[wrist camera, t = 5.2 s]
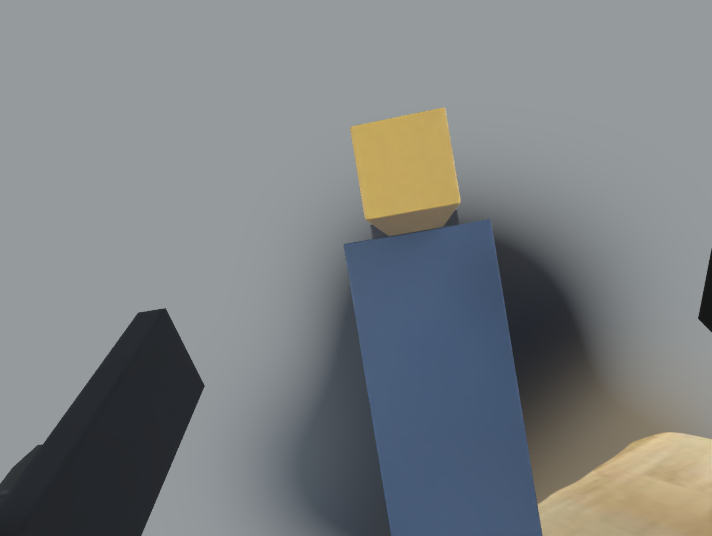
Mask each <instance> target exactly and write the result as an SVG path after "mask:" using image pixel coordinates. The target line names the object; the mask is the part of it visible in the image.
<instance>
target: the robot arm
mask: <svg viewBox="0 0 712 536" xmlns="http://www.w3.org/2000/svg"><path fill="white" fill-rule="evenodd" d="M698 319H699V320H700V321H701V322H702V323H703V324H704V325H705V326H706V327H707V328H708V329H709V330H710V331H711V332H712V250H711V255H710V260H709V265H708V271H707V276H706V281H705V286H704V291H703V297H702V302H701V307H700V312H699V317H698ZM203 388H204V384H203V382H202V380H201V378H200V376H199V374H198V372H197V370H196V368H195V366H194V364H193V362H192V360H191V358H190V356H189V354H188V352H187V350H186V348H185V346H184V344H183V342H182V340H181V338H180V336H179V334H178V332H177V330H176V328H175V326H174V324H173V322H172V320H171V318H170V316H169V314H168V312H167V310H166V309H158V310H152V311H146V312H140V313H138V314H137V315H136V316H135V318H134V319H133V321H132V322H131V324H130V325H129V326H128V328H127V329H126V330H125V332H124V333H123V334H122V336H121V337H120V339H119V340H118V342H117V343H116V344H115V346H114V347H113V348H112V350H111V351H110V353H109V354H108V355H107V357H106V358H105V359H104V361H103V362H102V364H101V365H100V366H99V368H98V369H97V370H96V372H95V373H94V375H93V376H92V377H91V379H90V380H89V382H88V383H87V384H86V386H85V387H84V389H83V390H82V391H81V393H80V394H79V395H78V397H77V398H76V399H75V401H74V402H73V404H72V405H71V407H70V408H69V409H68V411H67V412H66V413H65V415H64V416H63V417H62V419H61V420H60V422H59V423H58V424H57V426H56V427H55V429H54V430H53V431H52V433H51V434H50V435H49V437H48V438H47V440H46V441H45V442H44V444H43V445H37V446H36V447H35V448H34V449H33V450H32V451H31V452H29V453H28V454H27V455H26V456H25V457H24V458H23V459H22V460H21V461H20V462H18V463H17V464H16V465H15V466H14V467H13V468H12V469H11V471H10V472H9V473H8V474H7V476H6V477H5V478H4V480H3V481H2V482H1V484H0V536H141V535H142V533H143V530H144V528H145V525H146V523H147V521H148V518H149V516H150V514H151V511H152V509H153V507H154V504H155V502H156V499H157V497H158V495H159V492H160V490H161V488H162V485H163V483H164V481H165V478H166V476H167V473H168V471H169V469H170V466H171V464H172V462H173V459H174V457H175V455H176V452H177V450H178V448H179V445H180V443H181V440H182V438H183V435H184V433H185V431H186V428H187V426H188V424H189V422H190V419H191V417H192V414H193V412H194V410H195V407H196V405H197V403H198V400H199V398H200V395H201V393H202V391H203Z"/></svg>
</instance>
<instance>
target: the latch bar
mask: <svg viewBox="0 0 712 536" xmlns="http://www.w3.org/2000/svg"><path fill="white" fill-rule="evenodd" d="M350 130H351V136H352V142H353V149H354V154H355V161H356V166H357V173H358V179H359V185H360V192H361V198H362V204H363V210H364V216H365V219H366V220H367V221H368V222H370V223H371V224H372V225H374V226H375V227H376V228H378V229H379V230H381V231H382V232H383V233H385V234H386V235H388V236H395V235H401V234H406V233H412V232H418V231H424V230H430V229H436V228H442V227H443V226H444V225H445V223H446V222H447V221H448V219H449V218H450V216H451V215H452V214H453V212H454V211H455V210H456V208H457V207H458V205H459V204H460V202H461V201H460V194H459V188H458V182H457V176H456V170H455V164H454V158H453V152H452V146H451V139H450V133H449V128H448V121H447V115H446V109H445V108H439V109H434V110H429V111H424V112H419V113H414V114H409V115H405V116H400V117H395V118H390V119H385V120H380V121H375V122H371V123H366V124H361V125H356V126H352V127H351V128H350Z"/></svg>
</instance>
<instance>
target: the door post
mask: <svg viewBox="0 0 712 536" xmlns="http://www.w3.org/2000/svg"><path fill="white" fill-rule="evenodd" d="M371 233H372V239H371V240H366V241H360V242H354V243H348V244H344V249H345V256H346V262H347V268H348V274H349V280H350V286H351V293H352V299H353V305H354V311H355V317H356V323H357V330H358V336H359V342H360V348H361V354H362V360H363V366H364V372H365V379H366V385H367V391H368V396H369V403H370V409H371V415H372V422H373V428H374V433H375V439H376V446H377V452H378V458H379V465H380V471H381V477H382V483H383V489H384V495H385V501H386V507H387V513H388V520H389V526H390V532H391V536H542V530H541V524H540V518H539V512H538V506H537V500H536V494H535V487H534V482H533V475H532V469H531V463H530V457H529V451H528V445H527V439H526V432H525V427H524V420H523V414H522V408H521V402H520V397H519V390H518V384H517V378H516V371H515V366H514V360H513V353H512V348H511V341H510V335H509V329H508V323H507V317H506V310H505V304H504V299H503V292H502V286H501V281H500V274H499V268H498V262H497V255H496V249H495V243H494V237H493V231H492V225H491V220H490V219H489V220H483V221H477V222H471V223H465V224H459V218H458V212H457V210H455V211H454V212H453V214H452V215H451V216H450V218H449V219H448V221H447V222H446V223H445V225H444V226H443V227H442V228H436V229H430V230H424V231H418V232H412V233H406V234H401V235H395V236H388V235H386V234H385V233H383V232H382V231H381V230H379V229H378V228H376V227H375V226H374V225H371Z"/></svg>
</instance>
